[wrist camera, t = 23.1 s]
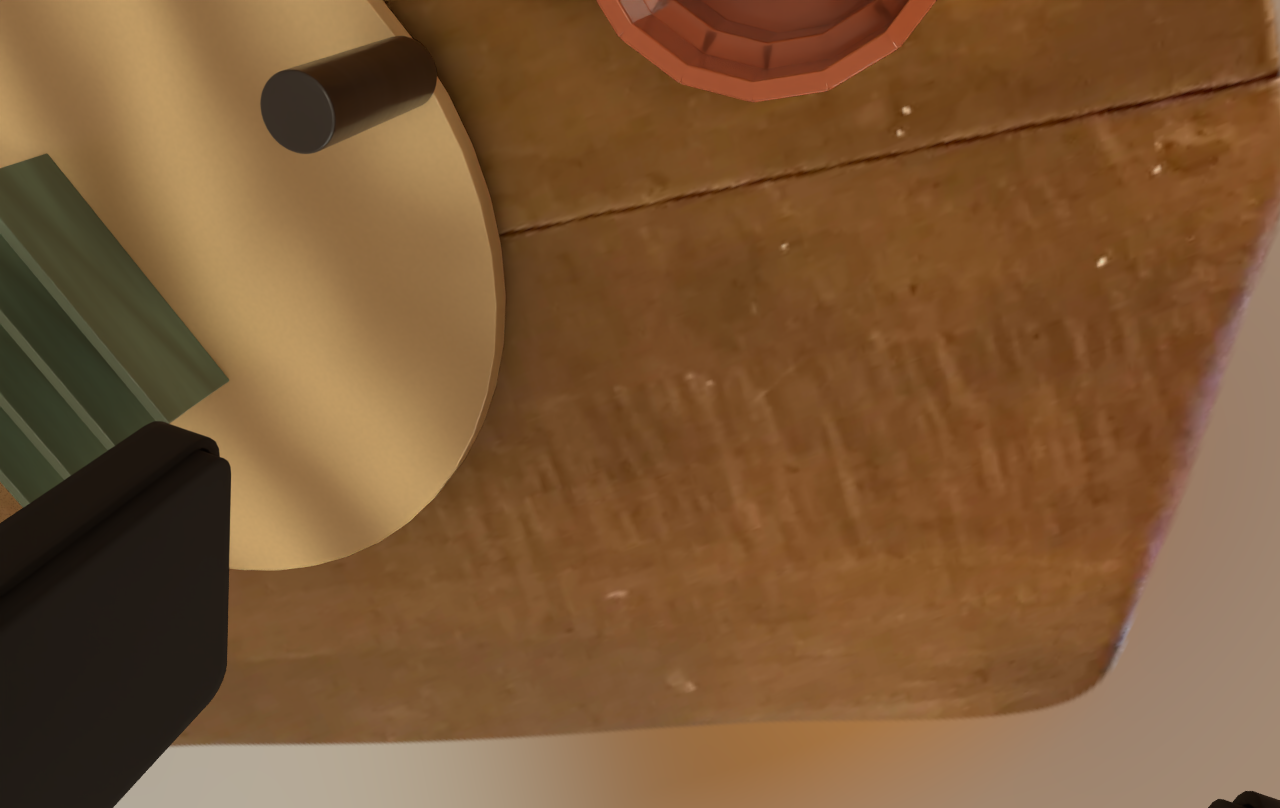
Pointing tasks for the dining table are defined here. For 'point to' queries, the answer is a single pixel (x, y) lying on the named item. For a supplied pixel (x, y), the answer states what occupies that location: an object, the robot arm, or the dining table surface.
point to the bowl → (764, 41)
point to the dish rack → (244, 258)
